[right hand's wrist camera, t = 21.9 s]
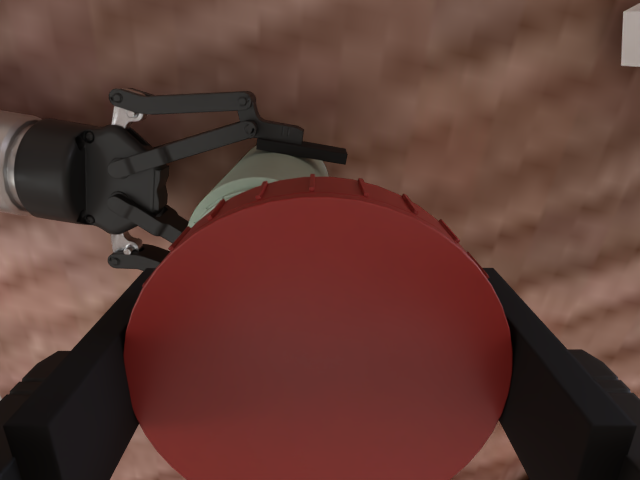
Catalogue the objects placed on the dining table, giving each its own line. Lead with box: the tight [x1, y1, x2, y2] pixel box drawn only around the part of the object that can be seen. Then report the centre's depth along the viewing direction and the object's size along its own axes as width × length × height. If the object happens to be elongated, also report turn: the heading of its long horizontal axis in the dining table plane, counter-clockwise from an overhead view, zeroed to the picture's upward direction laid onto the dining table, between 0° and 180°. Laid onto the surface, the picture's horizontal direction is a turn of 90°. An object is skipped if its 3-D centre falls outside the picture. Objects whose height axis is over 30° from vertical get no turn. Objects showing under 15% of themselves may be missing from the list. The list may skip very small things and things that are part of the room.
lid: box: [123, 174, 513, 480], centre depth 11 cm, size 9×9×2 cm
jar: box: [187, 145, 329, 228], centre depth 32 cm, size 9×9×18 cm
